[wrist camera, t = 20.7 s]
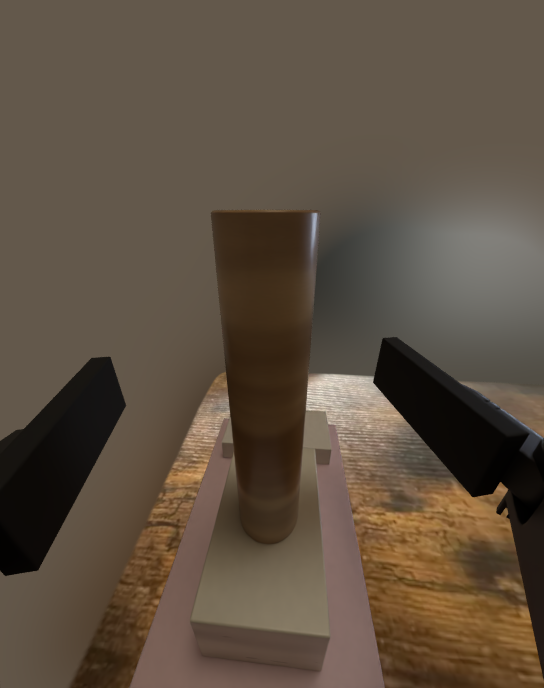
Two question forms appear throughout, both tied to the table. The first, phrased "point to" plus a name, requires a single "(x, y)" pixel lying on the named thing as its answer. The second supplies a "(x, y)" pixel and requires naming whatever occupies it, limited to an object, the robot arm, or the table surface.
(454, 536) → the table surface
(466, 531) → the table surface
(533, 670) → the table surface
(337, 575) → the bed
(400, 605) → the table surface
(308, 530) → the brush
